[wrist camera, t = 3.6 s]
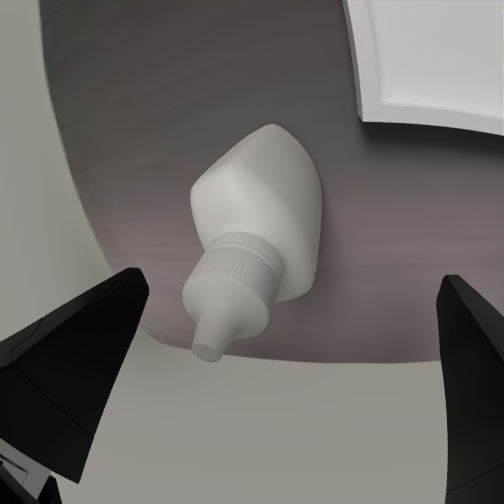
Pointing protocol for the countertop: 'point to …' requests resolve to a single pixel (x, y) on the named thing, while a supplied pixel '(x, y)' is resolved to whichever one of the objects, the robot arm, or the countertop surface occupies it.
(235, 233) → the eye dropper bottle
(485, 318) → the robot arm
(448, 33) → the tray
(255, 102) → the countertop surface
